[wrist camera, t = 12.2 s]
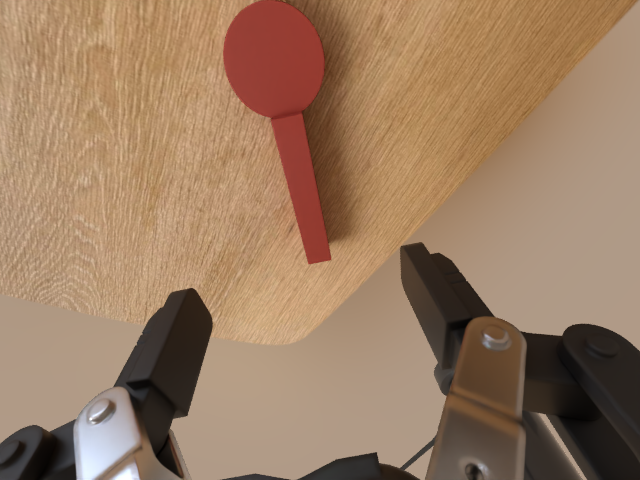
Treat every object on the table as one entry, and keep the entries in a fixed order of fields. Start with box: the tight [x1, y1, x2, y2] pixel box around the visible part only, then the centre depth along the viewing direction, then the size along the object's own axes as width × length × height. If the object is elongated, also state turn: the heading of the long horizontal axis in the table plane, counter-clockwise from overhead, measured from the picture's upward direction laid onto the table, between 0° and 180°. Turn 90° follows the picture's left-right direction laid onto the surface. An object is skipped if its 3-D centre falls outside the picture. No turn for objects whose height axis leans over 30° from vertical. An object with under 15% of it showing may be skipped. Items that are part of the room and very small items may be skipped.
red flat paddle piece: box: [223, 0, 331, 264], centre depth 22 cm, size 19×6×3 cm, turn 10°
